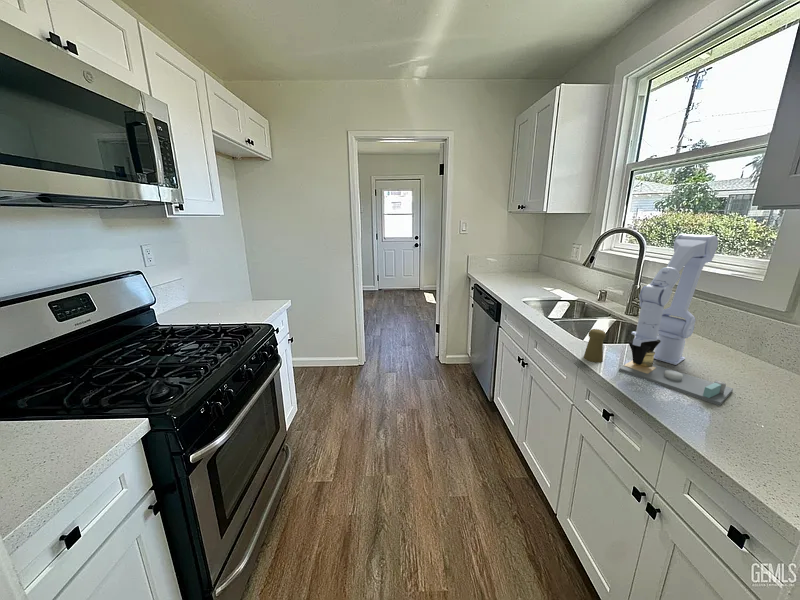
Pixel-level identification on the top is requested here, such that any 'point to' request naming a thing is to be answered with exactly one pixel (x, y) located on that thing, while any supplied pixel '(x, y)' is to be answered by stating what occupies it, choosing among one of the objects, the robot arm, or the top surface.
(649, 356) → the cap
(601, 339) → the pepper shaker
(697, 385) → the post board
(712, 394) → the lock lever
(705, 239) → the robot arm
